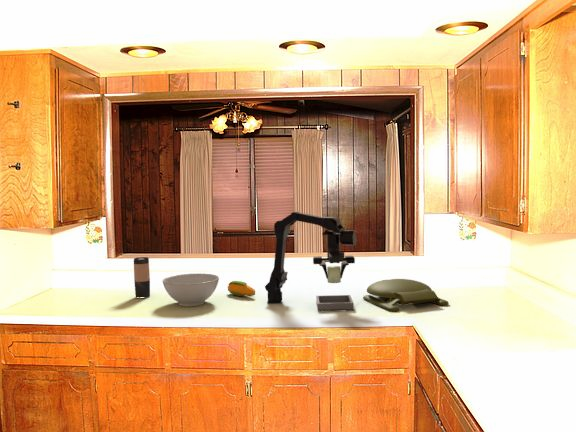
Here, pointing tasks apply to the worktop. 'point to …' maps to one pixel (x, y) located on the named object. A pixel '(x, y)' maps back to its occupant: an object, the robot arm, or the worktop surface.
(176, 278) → the decorative bowl
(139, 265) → the travel mug
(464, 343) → the worktop surface
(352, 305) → the serving bin
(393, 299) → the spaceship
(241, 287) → the corn
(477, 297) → the worktop surface
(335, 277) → the salad tub
